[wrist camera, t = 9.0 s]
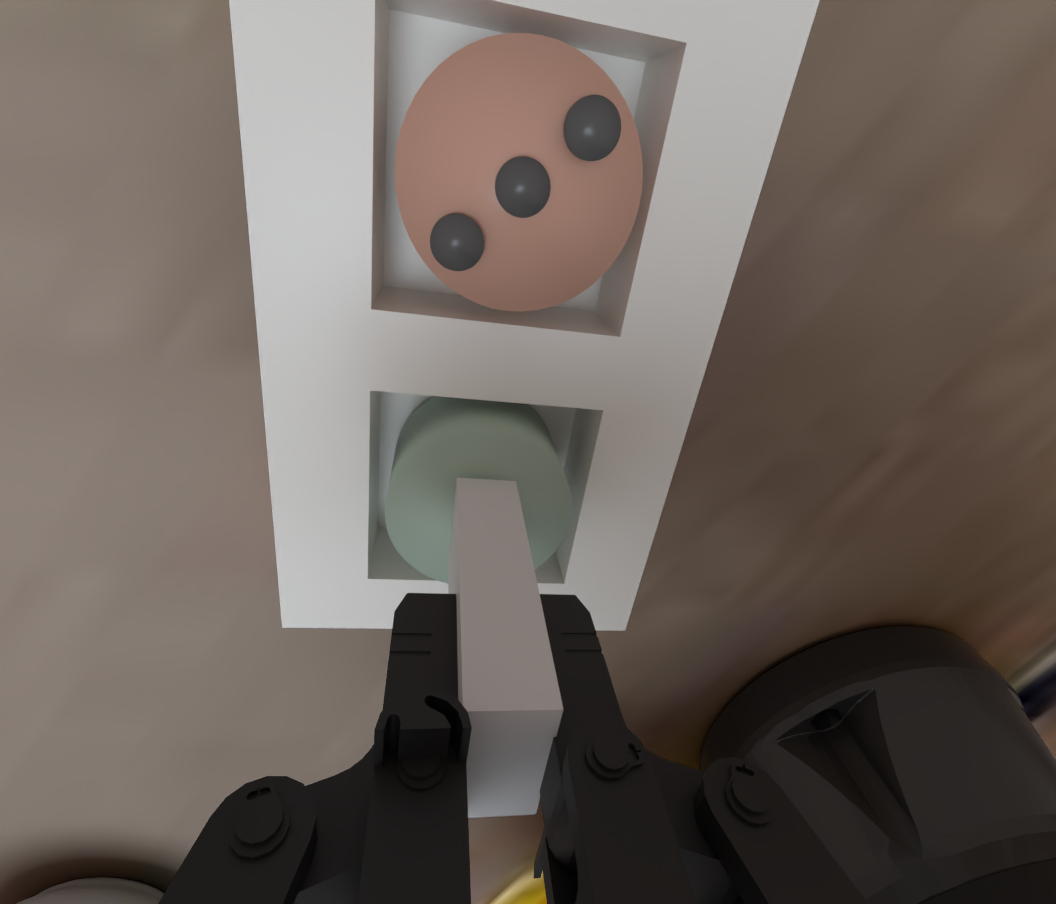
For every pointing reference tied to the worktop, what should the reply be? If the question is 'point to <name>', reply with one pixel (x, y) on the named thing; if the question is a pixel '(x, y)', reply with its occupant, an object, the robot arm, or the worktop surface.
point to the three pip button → (518, 172)
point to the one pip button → (472, 476)
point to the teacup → (98, 892)
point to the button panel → (462, 325)
